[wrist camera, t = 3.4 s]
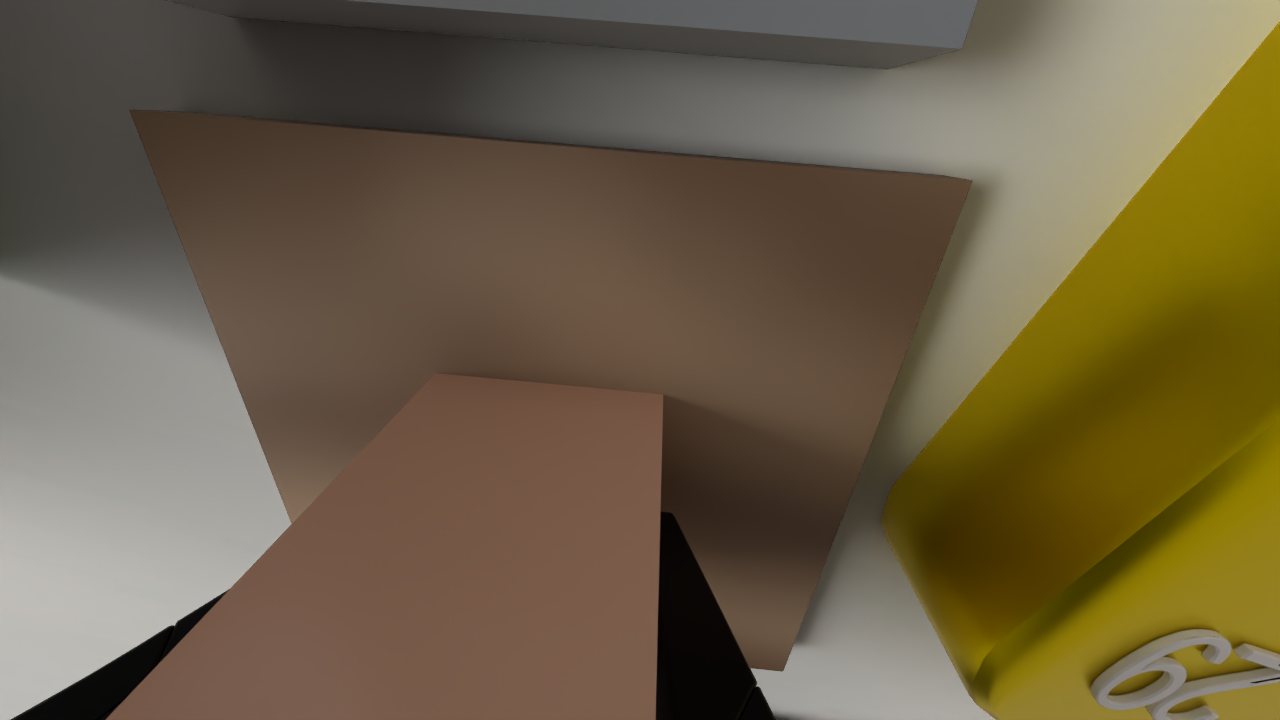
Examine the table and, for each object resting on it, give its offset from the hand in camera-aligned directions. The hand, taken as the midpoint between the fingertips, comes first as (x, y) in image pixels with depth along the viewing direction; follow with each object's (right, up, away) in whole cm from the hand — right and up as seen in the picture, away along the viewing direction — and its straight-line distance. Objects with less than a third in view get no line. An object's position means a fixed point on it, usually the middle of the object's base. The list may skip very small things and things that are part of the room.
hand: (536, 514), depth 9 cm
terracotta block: (0, +1, +1) cm, 1 cm away
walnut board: (0, +1, +2) cm, 2 cm away
